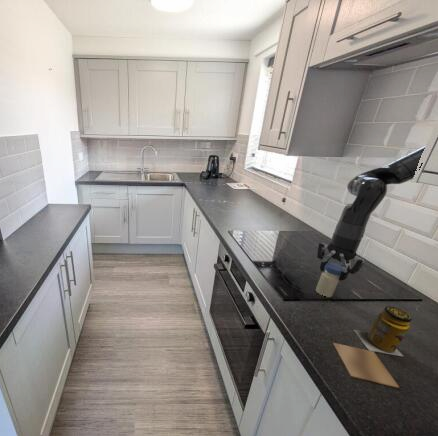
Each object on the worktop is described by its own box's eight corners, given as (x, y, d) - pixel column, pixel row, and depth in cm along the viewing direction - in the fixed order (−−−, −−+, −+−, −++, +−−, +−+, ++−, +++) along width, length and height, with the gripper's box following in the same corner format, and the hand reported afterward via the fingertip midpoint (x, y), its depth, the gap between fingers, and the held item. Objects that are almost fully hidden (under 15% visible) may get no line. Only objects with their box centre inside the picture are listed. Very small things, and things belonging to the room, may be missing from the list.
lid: (324, 271, 84) (325, 267, 83) (323, 264, 88) (325, 260, 88) (343, 277, 81) (345, 273, 80) (342, 270, 85) (344, 266, 85)
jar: (327, 288, 91) (335, 268, 87) (335, 298, 86) (345, 276, 82) (312, 287, 91) (320, 266, 87) (320, 296, 86) (329, 275, 82)
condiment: (403, 356, 64) (424, 324, 59) (369, 350, 65) (386, 318, 61) (383, 335, 70) (401, 304, 66) (352, 330, 72) (367, 299, 67)
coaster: (373, 352, 65) (373, 351, 65) (398, 388, 56) (399, 387, 56) (332, 343, 67) (332, 342, 67) (350, 376, 58) (351, 375, 58)
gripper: (319, 227, 84) (306, 267, 90) (367, 245, 72) (348, 289, 78) (331, 224, 87) (317, 263, 93) (379, 241, 75) (360, 284, 81)
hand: (331, 275), depth 85 cm, fingers closed on lid, 5 cm apart
